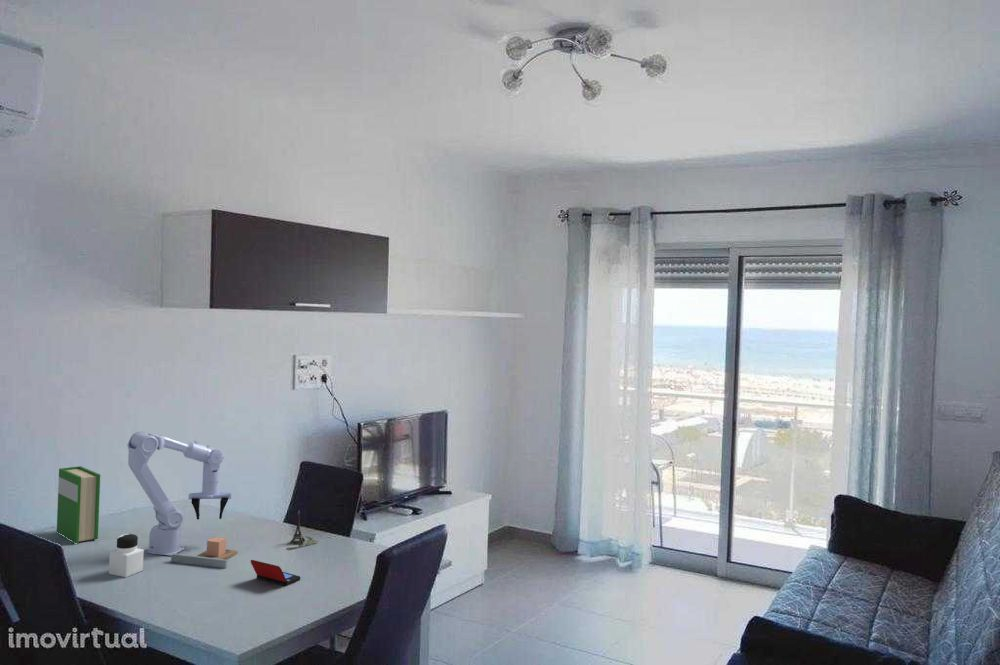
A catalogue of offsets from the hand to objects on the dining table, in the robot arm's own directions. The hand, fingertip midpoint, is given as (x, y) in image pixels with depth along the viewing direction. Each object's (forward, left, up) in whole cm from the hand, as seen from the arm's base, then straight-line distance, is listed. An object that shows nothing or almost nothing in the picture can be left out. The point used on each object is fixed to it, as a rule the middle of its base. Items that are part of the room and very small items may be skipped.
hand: (209, 518), depth 272 cm
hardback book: (-48, -8, -10) cm, 49 cm away
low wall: (+9, -20, -9) cm, 24 cm away
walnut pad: (+10, -11, -9) cm, 18 cm away
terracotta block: (+10, -11, -8) cm, 17 cm away
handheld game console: (+39, -26, -10) cm, 48 cm away
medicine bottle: (-8, -34, -10) cm, 36 cm away
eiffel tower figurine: (+29, +12, -10) cm, 33 cm away
